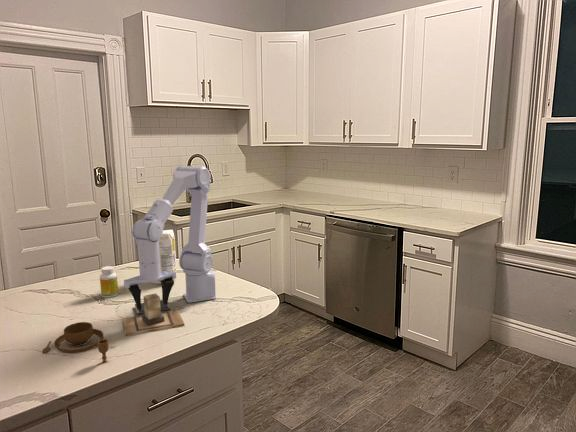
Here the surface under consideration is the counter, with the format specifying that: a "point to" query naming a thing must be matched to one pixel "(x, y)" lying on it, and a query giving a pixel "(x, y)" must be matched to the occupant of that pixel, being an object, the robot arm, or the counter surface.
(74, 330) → the place setting
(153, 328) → the marked board
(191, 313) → the counter surface
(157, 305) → the stamp
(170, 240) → the juice carton
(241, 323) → the counter surface
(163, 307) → the ink pad
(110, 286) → the supplement bottle
